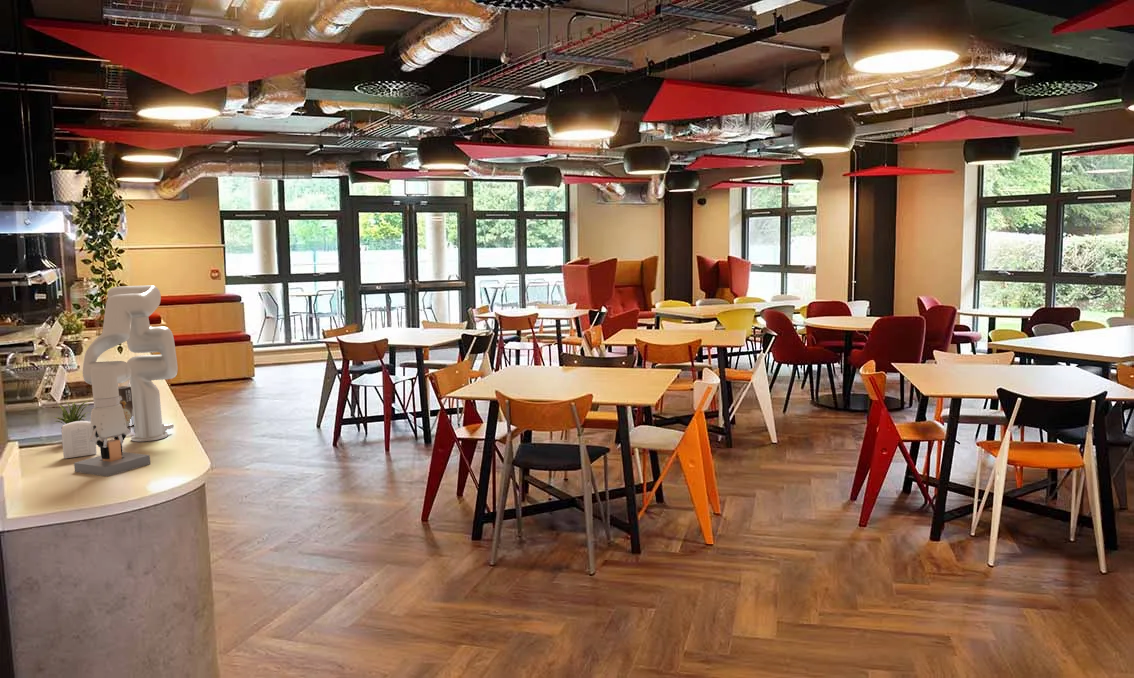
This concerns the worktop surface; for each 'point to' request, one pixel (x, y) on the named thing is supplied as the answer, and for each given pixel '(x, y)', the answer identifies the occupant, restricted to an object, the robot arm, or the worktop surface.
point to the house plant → (71, 413)
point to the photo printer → (77, 439)
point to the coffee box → (126, 402)
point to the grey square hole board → (112, 464)
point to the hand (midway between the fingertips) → (112, 456)
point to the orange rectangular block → (114, 450)
